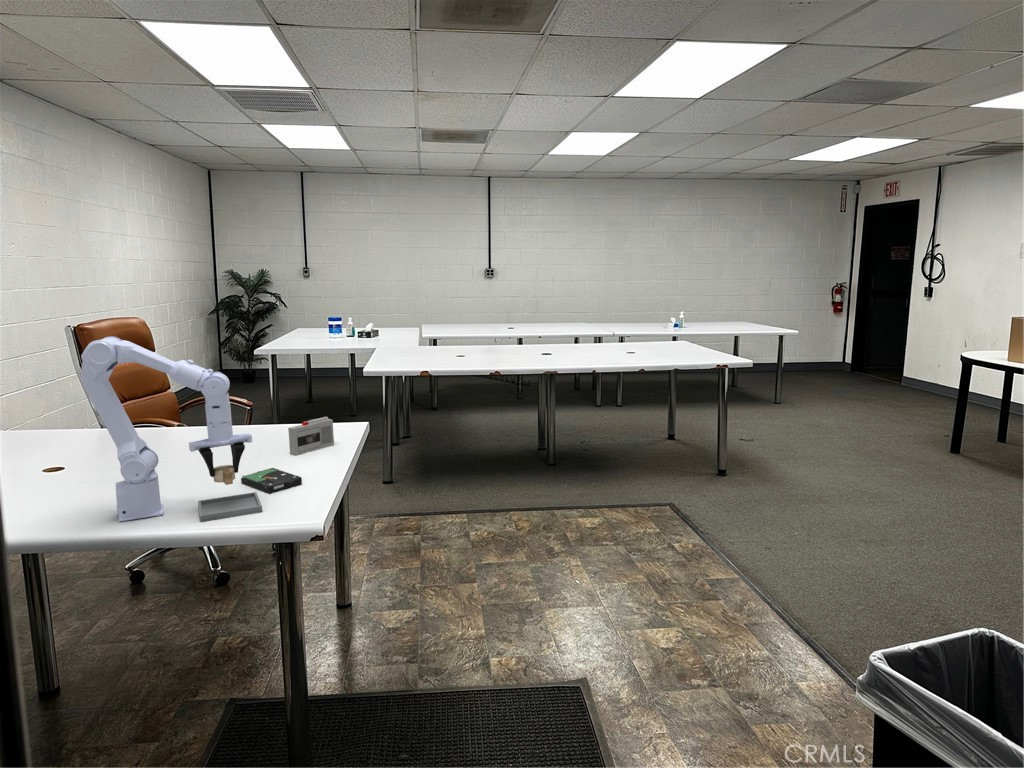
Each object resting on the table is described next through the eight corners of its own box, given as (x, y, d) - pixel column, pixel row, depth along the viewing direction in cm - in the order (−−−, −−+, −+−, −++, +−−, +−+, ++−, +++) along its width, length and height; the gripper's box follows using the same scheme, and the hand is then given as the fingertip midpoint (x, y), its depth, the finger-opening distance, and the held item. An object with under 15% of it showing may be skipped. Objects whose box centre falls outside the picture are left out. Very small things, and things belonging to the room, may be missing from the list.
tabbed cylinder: (211, 478, 171) (210, 467, 170) (232, 475, 174) (231, 463, 173) (218, 486, 165) (217, 474, 164) (240, 482, 168) (239, 470, 167)
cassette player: (295, 456, 216) (293, 425, 214) (290, 454, 218) (288, 424, 216) (334, 445, 229) (332, 416, 227) (329, 444, 230) (327, 415, 228)
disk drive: (303, 486, 188) (273, 476, 197) (302, 476, 187) (272, 466, 196) (269, 496, 180) (240, 485, 189) (269, 486, 179) (239, 475, 188)
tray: (200, 521, 161) (200, 516, 160) (198, 506, 171) (198, 500, 171) (262, 511, 167) (262, 506, 166) (256, 497, 177) (256, 491, 177)
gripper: (191, 429, 160) (196, 483, 163) (253, 420, 169) (258, 472, 171) (185, 423, 166) (190, 476, 168) (246, 415, 174) (250, 465, 177)
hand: (224, 473), depth 170 cm, fingers closed on tabbed cylinder, 5 cm apart
